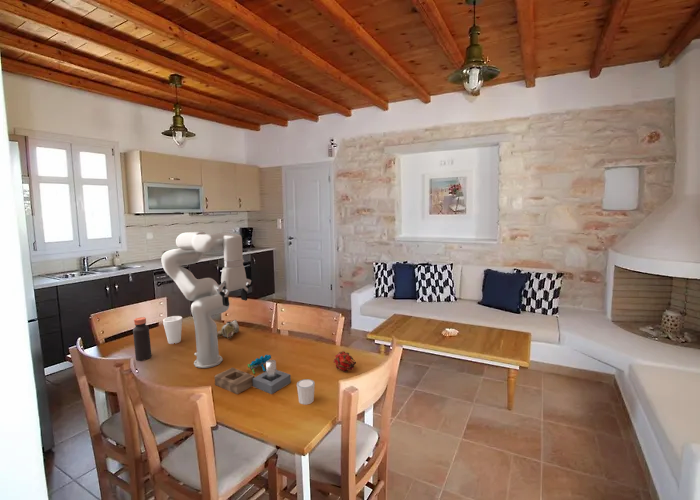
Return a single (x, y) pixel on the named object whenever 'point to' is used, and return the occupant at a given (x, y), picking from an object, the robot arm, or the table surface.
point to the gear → (259, 362)
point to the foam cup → (173, 328)
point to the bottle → (141, 339)
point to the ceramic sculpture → (228, 329)
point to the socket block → (269, 386)
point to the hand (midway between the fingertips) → (235, 302)
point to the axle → (271, 370)
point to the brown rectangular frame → (234, 380)
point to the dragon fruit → (344, 361)
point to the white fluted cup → (306, 391)
